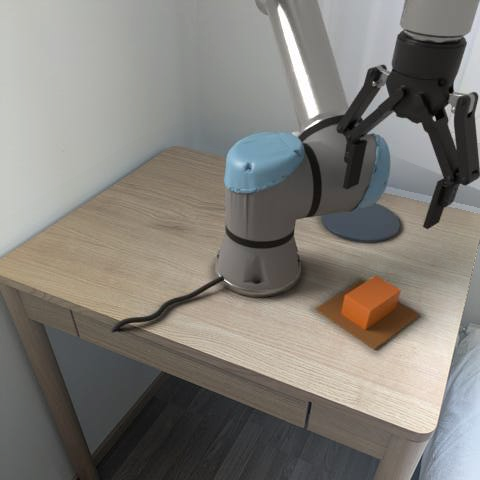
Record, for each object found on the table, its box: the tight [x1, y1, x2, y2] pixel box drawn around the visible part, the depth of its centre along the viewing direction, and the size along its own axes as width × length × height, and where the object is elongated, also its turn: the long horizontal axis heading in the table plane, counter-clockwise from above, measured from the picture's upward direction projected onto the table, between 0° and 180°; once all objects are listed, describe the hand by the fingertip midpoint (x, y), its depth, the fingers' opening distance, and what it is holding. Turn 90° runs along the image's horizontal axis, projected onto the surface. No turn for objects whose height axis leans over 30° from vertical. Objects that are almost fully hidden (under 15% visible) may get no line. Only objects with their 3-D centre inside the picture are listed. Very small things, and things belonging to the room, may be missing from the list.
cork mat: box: [315, 279, 421, 351], centre depth 80 cm, size 12×12×1 cm
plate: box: [320, 202, 401, 244], centre depth 102 cm, size 16×16×1 cm
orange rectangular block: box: [341, 275, 402, 330], centre depth 79 cm, size 8×5×4 cm, turn 131°
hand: (388, 204), depth 69 cm, fingers open, 13 cm apart
